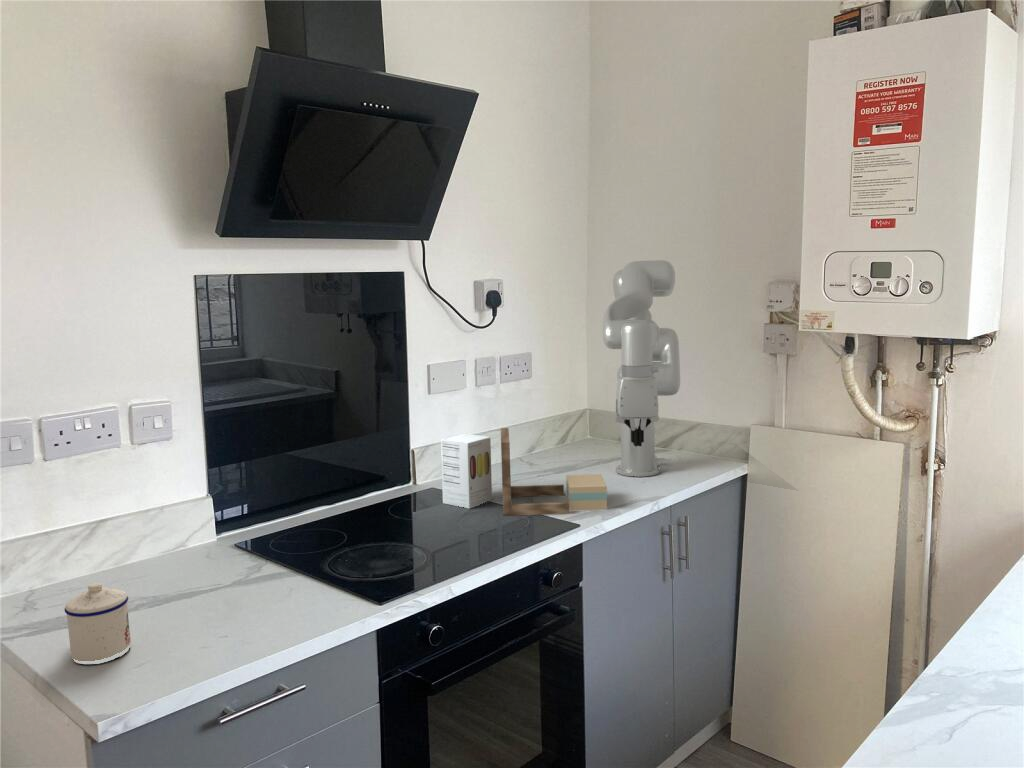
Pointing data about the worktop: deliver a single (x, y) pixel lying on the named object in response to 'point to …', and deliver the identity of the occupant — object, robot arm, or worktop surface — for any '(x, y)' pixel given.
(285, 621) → the worktop surface
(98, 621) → the teacup with lid
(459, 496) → the supplement box
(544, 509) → the display stand
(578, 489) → the carton
